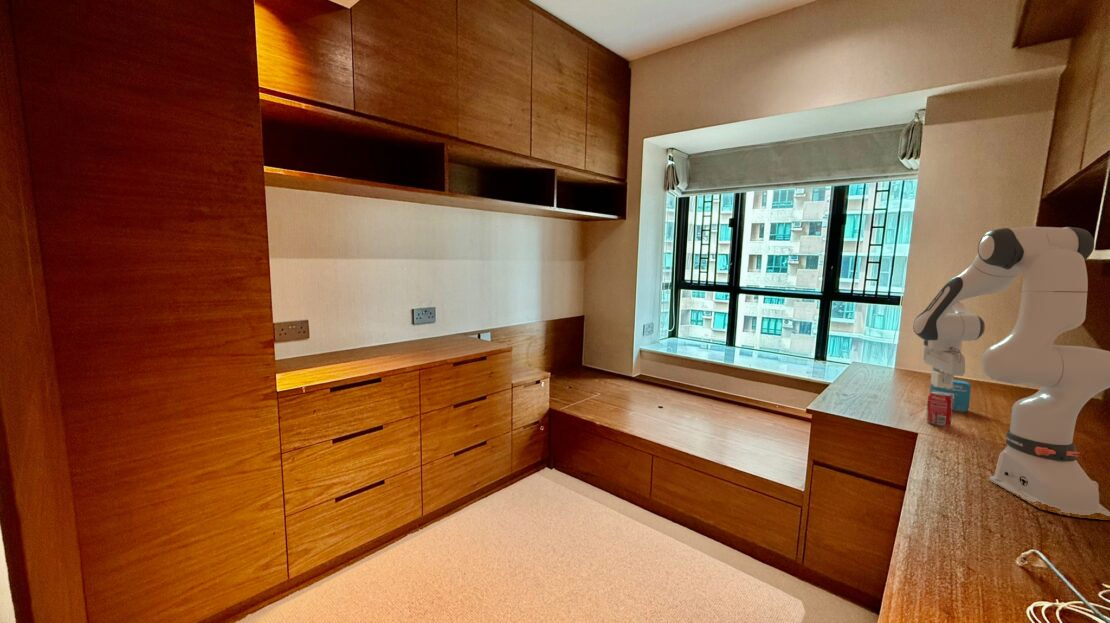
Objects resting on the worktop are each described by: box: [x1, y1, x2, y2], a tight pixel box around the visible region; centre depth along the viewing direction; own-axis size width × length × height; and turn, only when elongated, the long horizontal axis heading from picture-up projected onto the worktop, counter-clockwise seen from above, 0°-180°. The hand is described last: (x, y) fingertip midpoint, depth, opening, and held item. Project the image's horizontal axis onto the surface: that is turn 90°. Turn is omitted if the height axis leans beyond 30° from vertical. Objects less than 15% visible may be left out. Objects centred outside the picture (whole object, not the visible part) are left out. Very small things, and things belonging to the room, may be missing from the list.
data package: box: [929, 379, 972, 413], centre depth 175 cm, size 12×4×12 cm, turn 43°
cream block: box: [930, 370, 955, 388], centre depth 158 cm, size 5×5×5 cm
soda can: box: [925, 391, 953, 427], centre depth 159 cm, size 7×7×12 cm
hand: (941, 381), depth 158 cm, fingers closed on cream block, 5 cm apart
